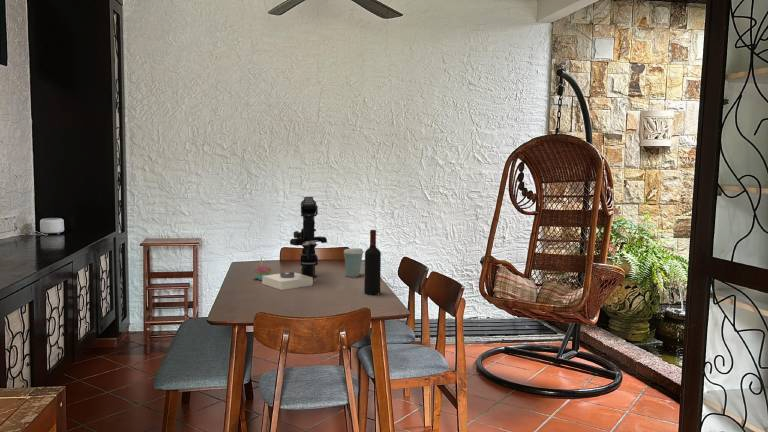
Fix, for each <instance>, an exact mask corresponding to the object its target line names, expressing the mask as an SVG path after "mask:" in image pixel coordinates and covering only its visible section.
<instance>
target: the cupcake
mask: <svg viewBox="0 0 768 432" xmlns="http://www.w3.org/2000/svg"><path fill="white" fill-rule="evenodd" d="M254 273H255V274H256V276H257V279H258V280H259V281H262V276H266V275H271V273H272V269H271V267H269V266H267V265H263V258H262V257H260V265H259V266H257V267H255V269H254Z"/></svg>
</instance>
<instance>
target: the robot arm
mask: <svg viewBox="0 0 768 432" xmlns="http://www.w3.org/2000/svg"><path fill="white" fill-rule="evenodd" d="M318 211H319V208H318V205H317V202H316V200H314V197H313V196H304V197H303V200H302V201H301V202H300V217H302V228H301V230H300V232H299V231H298V230H296V231H293V238H291V239H290V241H289V245H292V246H295V247H296V246H301V247H303V248H302V250H301V254H300V266H301V269H300V271H301V273H300V274H302V275H306V276H309V277H314V278H315V277H316V278H317V275H316V266H318V265H319V263H318V262H319V261H318V260H319V259H318V257H319V256H318V255H317V254H316V249H315V248H316V247H317V246H318V244H317V243H319V242H320V243H321V244H327V243H328V239H327V237H326V236H321V235H320V236H315V232H317V229H316V228H315V227H316V226H315V224H316V221H315V217H317V216H318V213H319V212H318Z"/></svg>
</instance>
